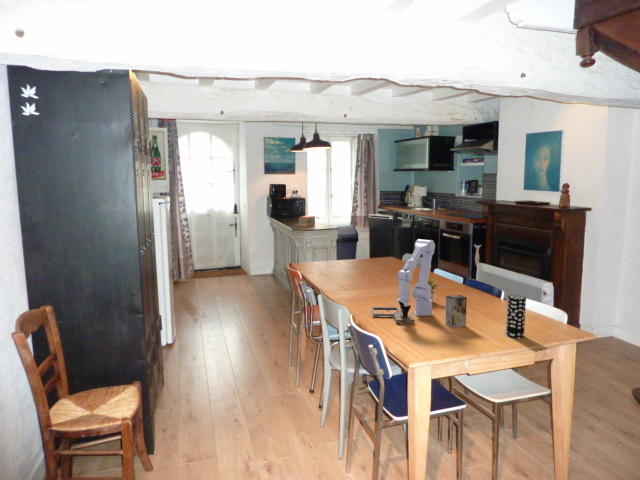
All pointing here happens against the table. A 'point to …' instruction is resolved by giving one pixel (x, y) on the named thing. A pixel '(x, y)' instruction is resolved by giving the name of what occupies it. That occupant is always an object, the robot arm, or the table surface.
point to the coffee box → (456, 310)
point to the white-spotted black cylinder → (516, 316)
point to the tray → (386, 311)
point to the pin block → (404, 319)
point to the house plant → (431, 288)
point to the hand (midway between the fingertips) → (404, 315)
